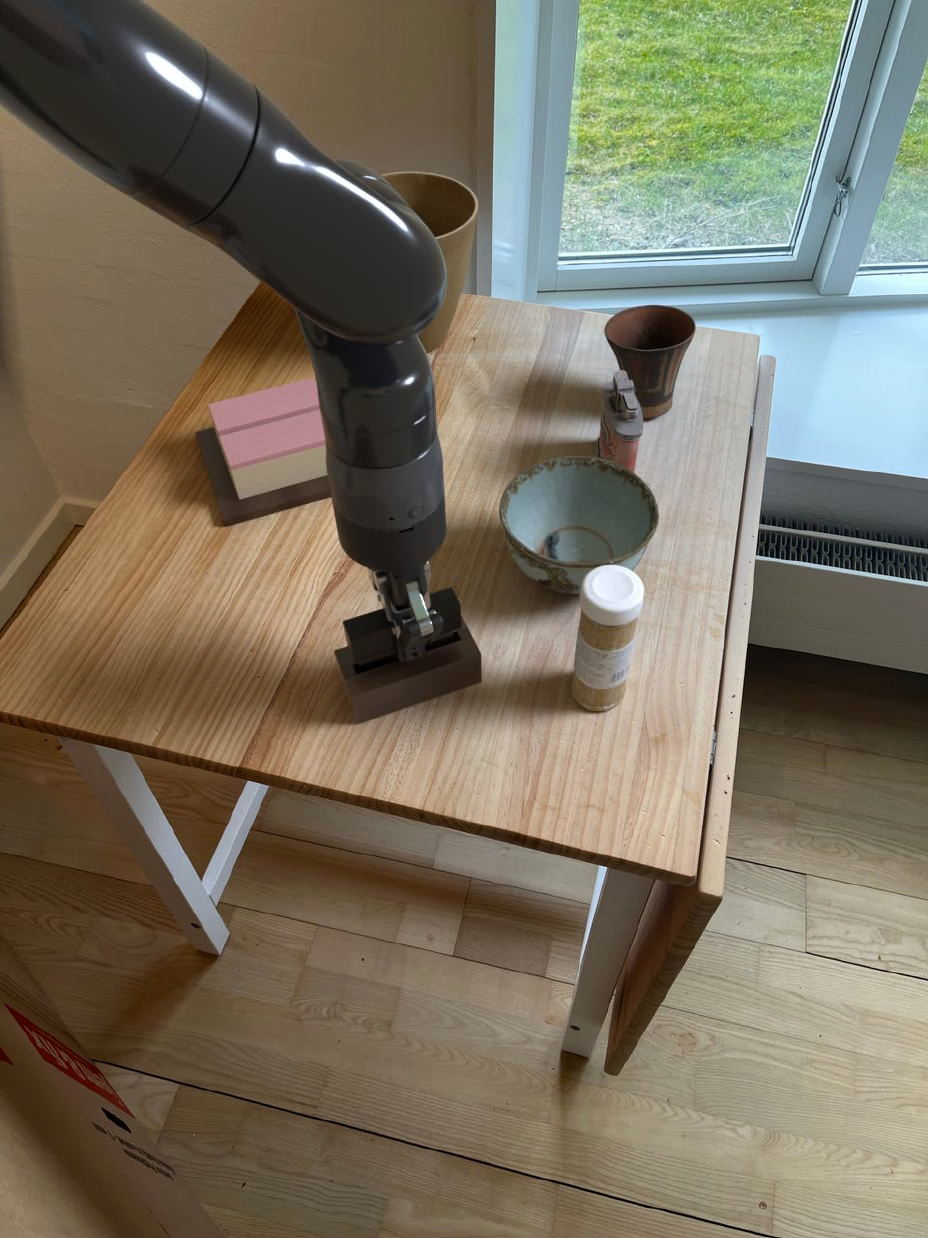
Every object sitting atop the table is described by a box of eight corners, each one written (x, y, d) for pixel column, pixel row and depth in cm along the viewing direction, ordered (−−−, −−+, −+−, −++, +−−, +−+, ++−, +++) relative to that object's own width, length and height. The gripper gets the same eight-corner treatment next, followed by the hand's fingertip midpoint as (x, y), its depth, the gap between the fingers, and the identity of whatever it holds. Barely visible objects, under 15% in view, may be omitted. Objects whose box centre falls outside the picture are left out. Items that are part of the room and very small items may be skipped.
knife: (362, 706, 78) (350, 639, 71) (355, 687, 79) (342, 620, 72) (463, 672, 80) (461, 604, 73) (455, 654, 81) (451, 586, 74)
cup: (609, 370, 106) (618, 289, 98) (689, 386, 104) (705, 305, 96) (586, 418, 101) (594, 337, 93) (670, 437, 98) (685, 355, 91)
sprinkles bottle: (606, 661, 81) (623, 554, 70) (635, 701, 78) (657, 596, 68) (559, 681, 80) (569, 575, 69) (587, 722, 77) (602, 618, 66)
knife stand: (357, 724, 77) (351, 697, 74) (339, 678, 80) (333, 650, 77) (482, 682, 80) (481, 654, 77) (460, 638, 83) (459, 609, 79)
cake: (239, 500, 93) (229, 465, 89) (229, 471, 95) (218, 436, 92) (346, 470, 95) (341, 435, 92) (333, 442, 98) (327, 407, 94)
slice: (227, 465, 96) (216, 430, 92) (217, 438, 99) (207, 403, 95) (331, 437, 98) (325, 402, 95) (319, 411, 101) (313, 376, 97)
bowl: (541, 648, 82) (545, 587, 76) (474, 545, 89) (473, 483, 83) (676, 594, 85) (690, 532, 79) (600, 500, 93) (607, 437, 87)
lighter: (590, 441, 98) (598, 360, 91) (622, 438, 98) (633, 357, 91) (606, 495, 93) (616, 414, 86) (640, 491, 93) (653, 411, 86)
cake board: (226, 526, 92) (223, 519, 91) (196, 439, 100) (194, 431, 99) (372, 484, 95) (371, 477, 94) (333, 403, 103) (331, 395, 103)
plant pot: (453, 386, 105) (447, 252, 92) (331, 360, 108) (309, 227, 96) (497, 312, 113) (497, 180, 101) (382, 290, 117) (369, 160, 104)
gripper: (304, 436, 66) (336, 597, 79) (365, 573, 58) (389, 727, 71) (406, 408, 67) (420, 571, 81) (479, 539, 59) (481, 695, 73)
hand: (405, 643), depth 76 cm, fingers closed on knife, 2 cm apart
